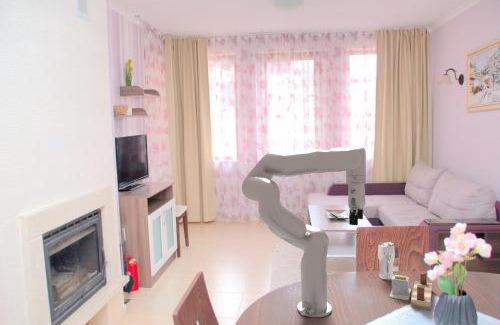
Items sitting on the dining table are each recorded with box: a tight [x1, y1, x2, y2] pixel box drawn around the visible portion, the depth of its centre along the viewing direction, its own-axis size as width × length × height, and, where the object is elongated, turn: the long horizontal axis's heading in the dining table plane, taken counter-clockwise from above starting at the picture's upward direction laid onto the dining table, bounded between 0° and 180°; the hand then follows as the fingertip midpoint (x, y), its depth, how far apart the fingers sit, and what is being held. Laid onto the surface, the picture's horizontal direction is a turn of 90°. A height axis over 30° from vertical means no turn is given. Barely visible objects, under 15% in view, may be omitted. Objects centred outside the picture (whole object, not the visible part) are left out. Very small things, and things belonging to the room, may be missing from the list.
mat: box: [389, 288, 412, 301], centre depth 156 cm, size 10×7×1 cm
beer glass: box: [377, 241, 396, 281], centre depth 172 cm, size 7×7×15 cm
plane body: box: [410, 272, 433, 311], centre depth 151 cm, size 18×6×8 cm, turn 153°
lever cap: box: [391, 274, 410, 296], centre depth 155 cm, size 4×6×7 cm
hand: (356, 221), depth 153 cm, fingers open, 9 cm apart
